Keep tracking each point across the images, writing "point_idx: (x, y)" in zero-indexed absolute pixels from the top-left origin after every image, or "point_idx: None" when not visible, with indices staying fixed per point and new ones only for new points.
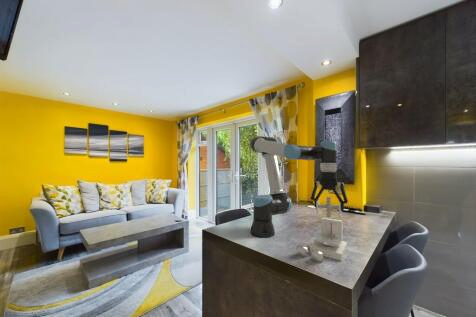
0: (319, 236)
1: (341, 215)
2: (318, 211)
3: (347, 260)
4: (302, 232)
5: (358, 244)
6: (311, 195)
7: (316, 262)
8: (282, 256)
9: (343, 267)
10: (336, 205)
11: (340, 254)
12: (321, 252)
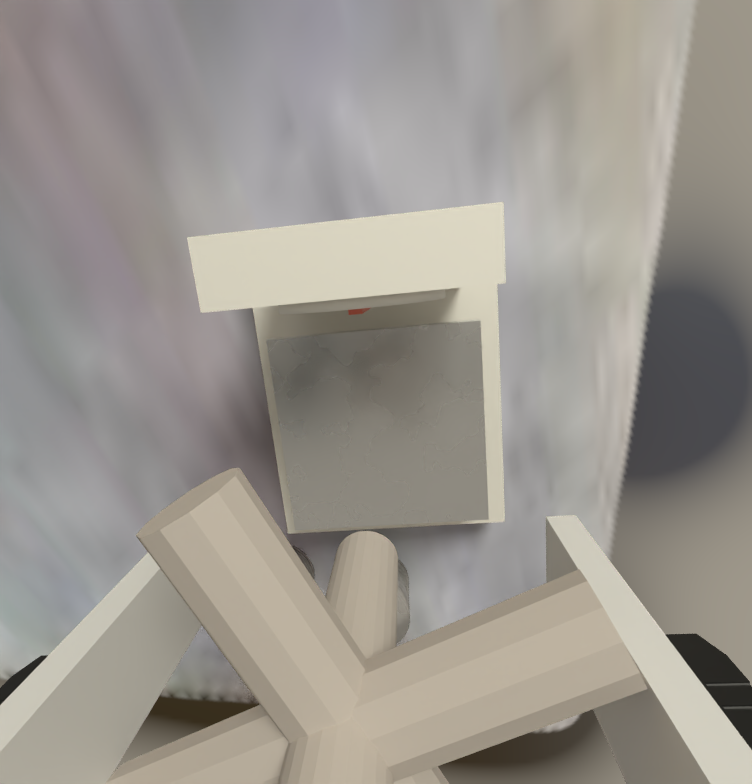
0: (297, 425)
1: (584, 530)
2: (174, 617)
3: (525, 467)
4: (34, 109)
5: (559, 44)
6: None
7: None
8: (207, 655)
9: (520, 572)
10: (555, 711)
11: (497, 520)
12: (399, 618)
